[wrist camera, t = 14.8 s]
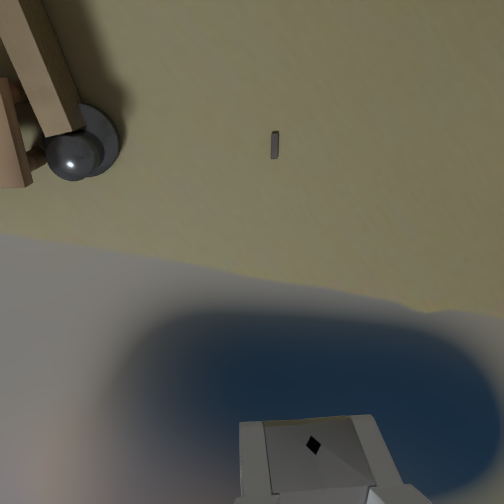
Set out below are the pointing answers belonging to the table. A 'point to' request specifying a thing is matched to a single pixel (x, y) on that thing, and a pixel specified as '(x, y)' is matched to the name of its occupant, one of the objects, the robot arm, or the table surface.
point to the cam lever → (56, 95)
